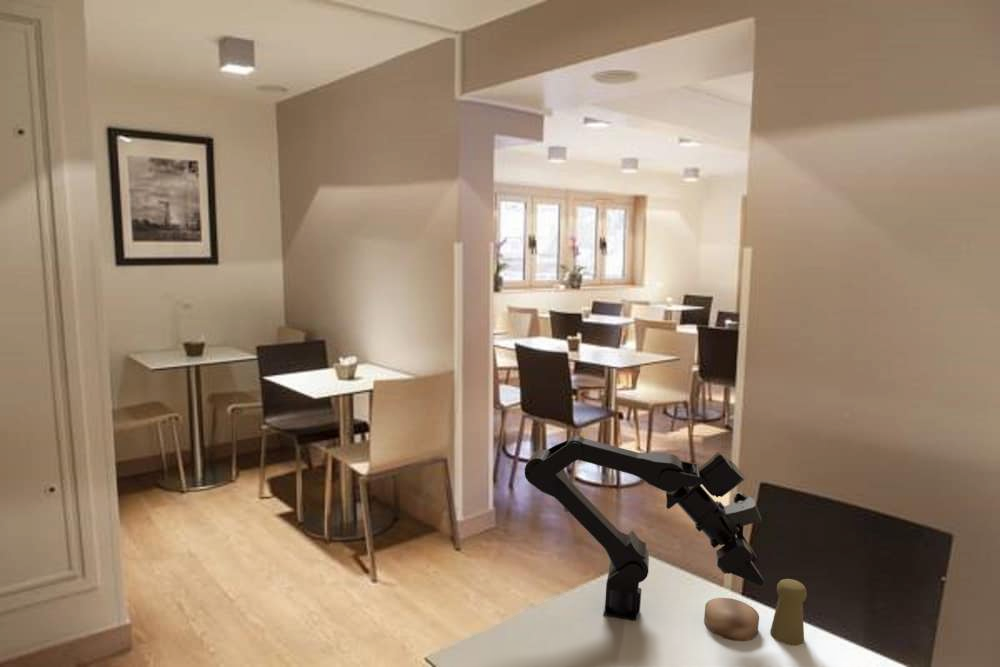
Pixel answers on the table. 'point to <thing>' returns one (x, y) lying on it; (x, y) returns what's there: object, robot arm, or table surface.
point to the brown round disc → (731, 619)
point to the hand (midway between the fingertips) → (758, 571)
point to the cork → (789, 613)
